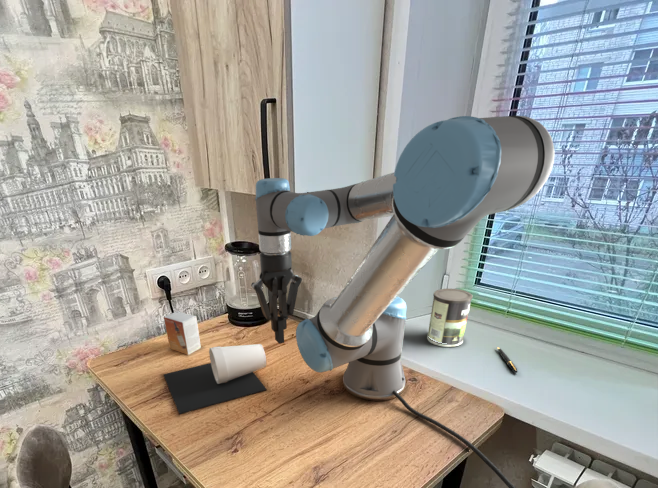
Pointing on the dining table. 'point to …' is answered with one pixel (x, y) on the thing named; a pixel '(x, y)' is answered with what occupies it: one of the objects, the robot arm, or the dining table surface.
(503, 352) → the fountain pen
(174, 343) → the small box
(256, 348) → the foam cup
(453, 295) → the coffee can
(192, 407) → the mat
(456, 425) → the dining table surface
